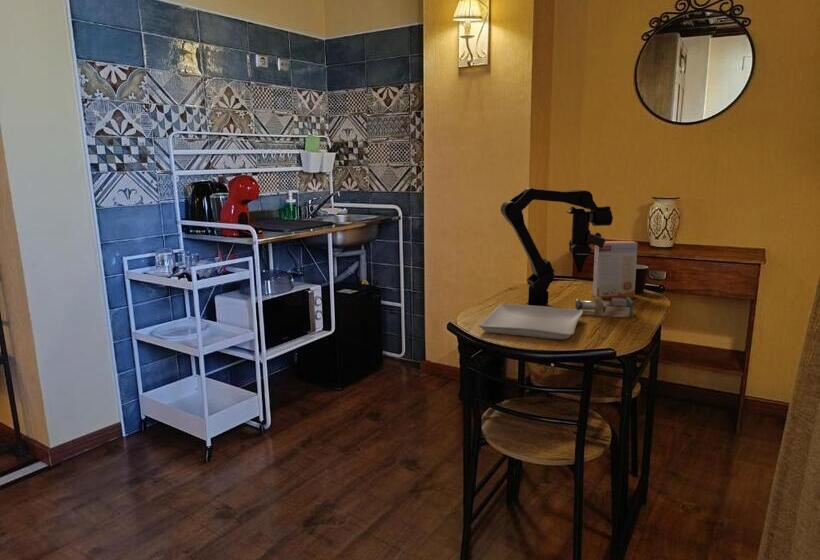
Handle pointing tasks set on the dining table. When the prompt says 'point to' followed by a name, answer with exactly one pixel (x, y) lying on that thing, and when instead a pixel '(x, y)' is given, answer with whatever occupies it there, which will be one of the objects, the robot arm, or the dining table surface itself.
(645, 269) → the coffee mug
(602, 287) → the cracker box
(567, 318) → the square plate
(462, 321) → the dining table surface
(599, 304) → the bearing bed
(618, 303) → the block
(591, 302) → the shaft
